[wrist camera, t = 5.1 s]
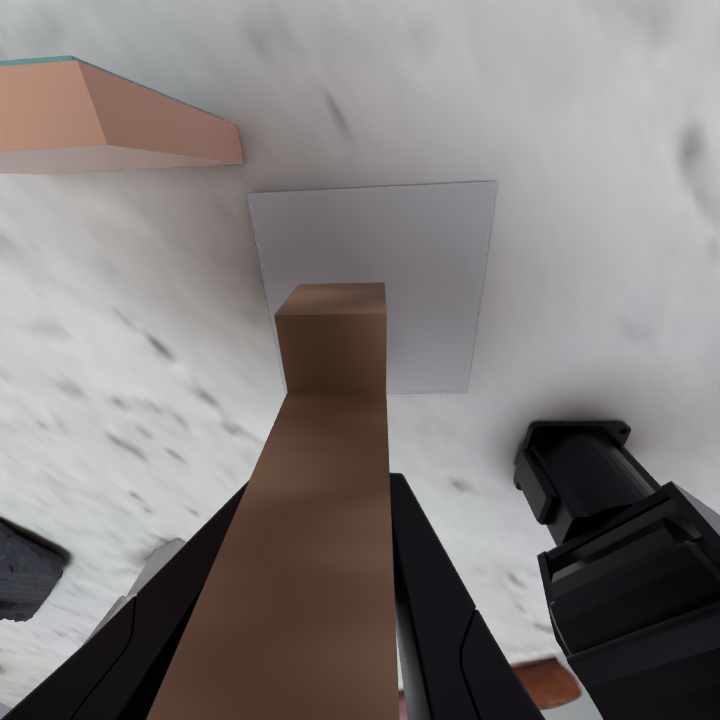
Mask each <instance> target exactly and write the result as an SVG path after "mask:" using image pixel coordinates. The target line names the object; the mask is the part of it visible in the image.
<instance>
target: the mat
mask: <svg viewBox="0 0 720 720" xmlns="http://www.w3.org/2000/svg"><path fill="white" fill-rule="evenodd" d="M497 186H498V181H485V182H465V183H444V184H424V185H403V186H383V187H363V188H342V189H322V190H301V191H281V192H261V193H246V196H247V201H248V206H249V211H250V216H251V222H252V227H253V232H254V237H255V242H256V247H257V252H258V258H259V263H260V268H261V273H262V278H263V283H264V289H265V294H266V299H267V304H268V309H269V314H270V319H271V325H272V330H273V335H274V340H275V345H276V350H277V355H278V361H279V366H280V371H281V376H282V381H283V386H284V391H285V395H287V387H286V381H285V375H284V370H283V364H282V358H281V353H280V347H279V341H278V335H277V330H276V324H275V318H274V314H275V313H276V312H277V311H278V309H279V308H280V307H281V306H282V304H283V303H284V302H285V300H286V299H287V298H288V297H289V295H290V294H291V293H292V292H293V290H294V289H295V288H296V287H297V285H298V284H325V283H375V282H385V295H386V309H387V353H386V394H410V393H467V389H468V382H469V375H470V368H471V362H472V355H473V348H474V341H475V334H476V328H477V321H478V314H479V307H480V301H481V294H482V287H483V280H484V274H485V267H486V260H487V253H488V246H489V240H490V233H491V226H492V219H493V213H494V206H495V199H496V192H497Z"/></svg>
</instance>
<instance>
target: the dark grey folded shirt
mask: <svg viewBox="0 0 720 720" xmlns="http://www.w3.org/2000/svg"><path fill="white" fill-rule="evenodd" d="M63 567H64V563H63V560H62V558H61V557H60V556H59V555H57V554H56V553H53V552H52V551H49V550H47V549H45V548H43V547H41V546H38V545H37V544H35V543H34V542H31V541H29V540H27V539H26V538H24V537H22V536H21V535H19V534H18V533H17V532H15V531H14V530H13V529H11V528H9V527H7V526H6V525H4V524H3V523H1V522H0V620H2V619H4V618H5V619H8V620H15V622H18V621H27V620H28V619H30V618H32V617H33V615H34V614H35V612H37V610H38V609H39V608H40V606H41V605H42V603H43V602H44V601H45V599H47V597H48V596H49V595H50V593H51V591H52V588H53V587H54V585H55V583H56V581H58V580H59V579H60V578H61V577H62V574H63Z"/></svg>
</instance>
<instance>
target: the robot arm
mask: <svg viewBox="0 0 720 720" xmlns="http://www.w3.org/2000/svg"><path fill="white" fill-rule="evenodd" d="M538 429H539V430H538ZM630 432H631V428H630V427H629V426H628V425H627V424H626V423H625V422H536V423H533V424H532V425H531V426H530V427H529V431H528V434H527V438H526V441H525V445H524V448H523V449H522V451H521V453H520V457H519V460H518V464H517V467H516V471H515V480H514V484H515V486H516V488H517V489H518V490H523V493H524V495H525V497H526V499H527V501H528V503H529V505H530V507H531V509H532V511H533V514H534V516H535V518H536V520H537V521H538V522H539V523H540V524H541V525H547V527H548V529H549V532H550V534H551V536H552V538H553V540H554V542H555V544H556V546H557V547H555V548H553V549H552V550H550V551H548V552H545V551H544V552H542V553H541V554H539V555H537V558H538V562H539V567H540V572H541V577H542V581H543V586H544V591H545V595H546V600H547V605H548V610H549V614H550V619H551V623H552V627H553V630H554V635H555V638H556V641H557V642H558V644H559V645H560V647H561V649H562V651H563V652H564V654H565V656H566V658H567V661H568V664H569V665H570V667H571V668H572V670H573V671H574V673H575V674H576V675H577V677H578V678H579V680H580V681H581V683H582V684H583V685H584V687H585V688H586V690H587V692H588V693H589V695H590V697H591V698H592V700H593V702H594V703H595V705H596V707H597V708H598V710H599V712H600V714H601V716H602V718H603V720H720V515H719V514H717V513H716V512H715V511H713V510H712V509H710V508H709V507H707V506H706V505H705V504H703V503H702V502H700V501H699V500H698V499H696V498H695V497H693V496H692V495H691V494H689V493H688V492H686V491H685V490H684V489H682V488H681V487H679V486H678V485H676V484H675V483H674V482H672V481H670V482H668V483H667V484H665V485H663V486H660V485H659V484H658V483H657V482H656V481H655V479H654V478H653V477H652V476H651V475H650V474H649V473H648V472H647V471H646V470H645V469H644V468H643V467H642V466H641V465H640V463H639V462H638V461H637V460H636V459H635V458H634V457H633V456H632V455H631V454H630V453H629V452H628V451H627V450H626V449H625V447H624V444H625V442H626V440H627V438H628V436H629V434H630ZM389 474H390V498H391V523H392V547H393V572H394V596H395V620H396V631H397V639H398V647H399V655H400V662H401V670H402V678H403V686H404V693H405V701H406V709H407V717H408V720H545V718H544V717H543V715H542V714H541V712H540V711H539V709H538V708H537V706H536V705H535V703H534V702H533V700H532V699H531V697H530V696H529V694H528V692H527V691H526V689H525V688H524V686H523V685H522V683H521V681H520V680H519V678H518V677H517V675H516V674H515V672H514V671H513V669H512V667H511V666H510V664H509V663H508V661H507V659H506V658H505V656H504V654H503V653H502V651H501V649H500V647H499V646H498V644H497V642H496V641H495V639H494V637H493V635H492V634H491V632H490V630H489V629H488V627H487V625H486V623H485V621H484V620H483V618H482V616H481V614H480V612H479V611H478V610H477V609H476V610H475V608H476V606H475V604H474V602H473V600H472V598H471V596H470V595H469V593H468V591H467V589H466V587H465V586H464V584H463V582H462V580H461V578H460V576H459V575H458V573H457V571H456V569H455V567H454V566H453V564H452V562H451V560H450V558H449V557H448V555H447V553H446V551H445V549H444V548H443V546H442V544H441V542H440V540H439V539H438V537H437V535H436V533H435V531H434V529H433V528H432V526H431V524H430V522H429V520H428V519H427V517H426V515H425V513H424V511H423V510H422V508H421V506H420V504H419V502H418V501H417V499H416V497H415V495H414V493H413V491H412V490H411V488H410V486H409V484H408V482H407V481H406V479H405V477H404V475H403V474H401V473H389ZM248 483H249V481H248V482H247V483H246V484H245V485H244V486H243V487H242V488H241V489H240V490H239V491H238V492H237V493H236V494H235V495H234V496H233V497H232V498H231V499H230V500H229V501H228V502H227V503H226V504H225V505H224V506H223V507H222V508H221V509H220V510H219V511H218V512H217V513H216V514H215V515H214V516H213V517H212V518H211V519H210V520H209V521H208V522H207V523H206V524H205V525H204V526H203V527H202V528H201V529H200V530H199V531H198V532H197V533H196V534H195V535H194V536H193V537H192V538H191V539H190V540H189V541H188V542H187V543H186V544H185V545H184V546H183V547H182V548H181V549H180V550H179V551H178V552H177V553H176V554H175V555H174V556H173V557H172V558H171V559H170V560H169V561H168V562H167V563H166V564H165V565H164V566H163V567H162V568H161V569H160V570H159V571H158V572H157V573H156V574H155V575H154V576H153V577H152V578H151V579H150V580H149V581H148V582H147V583H146V584H145V585H144V586H143V587H142V588H141V589H140V590H139V591H138V592H137V595H136V596H133V597H132V598H131V599H130V600H129V601H128V602H127V603H126V604H125V605H124V606H123V607H122V608H121V609H120V610H119V611H118V612H117V613H116V614H115V615H114V616H113V617H112V618H111V619H110V620H109V621H108V622H107V623H106V624H105V625H104V626H103V627H102V628H101V629H100V630H99V631H98V632H96V633H95V634H94V635H93V636H92V637H91V638H90V639H89V640H88V641H87V642H86V643H85V644H84V645H83V646H82V647H81V648H80V649H78V650H77V651H76V652H75V653H74V654H73V655H72V656H71V657H70V658H69V659H68V660H66V661H65V662H64V663H63V664H62V665H61V666H60V667H59V668H58V669H57V670H55V671H54V672H53V673H52V674H51V675H50V676H49V677H48V678H47V679H45V680H44V681H43V682H42V683H41V684H40V685H39V686H38V687H36V688H35V689H34V690H33V691H32V692H31V693H30V694H29V695H27V696H26V697H25V698H24V699H23V700H22V701H21V702H20V703H18V704H17V705H16V706H15V707H14V708H13V709H12V710H11V711H10V712H8V713H7V714H6V715H5V716H4V717H3V718H2V719H0V720H146V719H147V716H148V714H149V712H150V709H151V707H152V705H153V702H154V700H155V698H156V696H157V693H158V691H159V689H160V686H161V684H162V682H163V679H164V677H165V675H166V672H167V670H168V668H169V665H170V663H171V661H172V658H173V656H174V654H175V652H176V649H177V647H178V645H179V642H180V640H181V638H182V635H183V633H184V631H185V628H186V626H187V624H188V621H189V619H190V617H191V615H192V612H193V610H194V608H195V605H196V603H197V601H198V598H199V596H200V594H201V591H202V589H203V587H204V584H205V582H206V580H207V578H208V575H209V573H210V571H211V568H212V566H213V564H214V561H215V559H216V557H217V554H218V552H219V550H220V547H221V545H222V543H223V540H224V538H225V536H226V534H227V531H228V529H229V527H230V524H231V522H232V520H233V517H234V515H235V513H236V510H237V508H238V506H239V503H240V501H241V499H242V497H243V494H244V492H245V490H246V487H247V485H248Z"/></svg>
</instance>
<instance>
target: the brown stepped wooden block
mask: <svg viewBox="0 0 720 720" xmlns="http://www.w3.org/2000/svg"><path fill="white" fill-rule="evenodd" d="M274 318H275V324H276V330H277V335H278V341H279V347H280V353H281V358H282V364H283V370H284V375H285V381H286V387H287V395H286V397H285V399H284V402H283V404H282V406H281V409H280V411H279V413H278V416H277V418H276V420H275V422H274V425H273V427H272V429H271V432H270V434H269V436H268V439H267V441H266V443H265V446H264V448H263V450H262V453H261V455H260V457H259V459H258V462H257V464H256V466H255V469H254V471H253V473H252V476H251V478H250V480H249V483H248V485H247V487H246V490H245V492H244V494H243V497H242V499H241V501H240V503H239V506H238V508H237V510H236V513H235V515H234V517H233V520H232V522H231V524H230V527H229V529H228V531H227V534H226V536H225V538H224V540H223V543H222V545H221V547H220V550H219V552H218V554H217V557H216V559H215V561H214V564H213V566H212V568H211V571H210V573H209V575H208V578H207V580H206V582H205V584H204V587H203V589H202V591H201V594H200V596H199V598H198V601H197V603H196V605H195V608H194V610H193V612H192V615H191V617H190V619H189V621H188V624H187V626H186V628H185V631H184V633H183V635H182V638H181V640H180V642H179V645H178V647H177V649H176V652H175V654H174V656H173V658H172V661H171V663H170V665H169V668H168V670H167V672H166V675H165V677H164V679H163V682H162V684H161V686H160V689H159V691H158V693H157V696H156V698H155V700H154V702H153V705H152V707H151V709H150V712H149V714H148V716H147V719H146V720H400V718H399V694H398V669H397V645H396V620H395V596H394V572H393V547H392V523H391V498H390V474H389V449H388V425H387V400H386V353H387V309H386V295H385V282H375V283H325V284H298V285H297V287H296V288H295V289H294V290H293V292H292V293H291V294H290V295H289V297H288V298H287V299H286V300H285V302H284V303H283V304H282V306H281V307H280V308H279V309H278V311H277V312H276V313H275V314H274Z"/></svg>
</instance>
